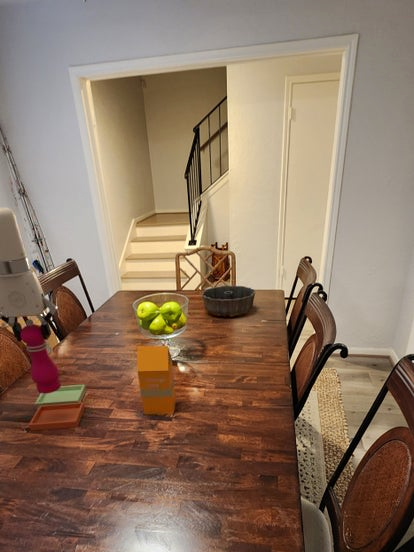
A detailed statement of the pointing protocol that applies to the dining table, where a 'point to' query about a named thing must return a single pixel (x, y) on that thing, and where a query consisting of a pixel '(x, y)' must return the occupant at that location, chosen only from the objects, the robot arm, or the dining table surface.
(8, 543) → the dining table surface
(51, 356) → the wineglass
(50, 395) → the sage tray
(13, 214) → the robot arm
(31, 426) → the terracotta tray
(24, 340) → the pepper mill
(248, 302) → the bundt pan
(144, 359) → the orange juice
